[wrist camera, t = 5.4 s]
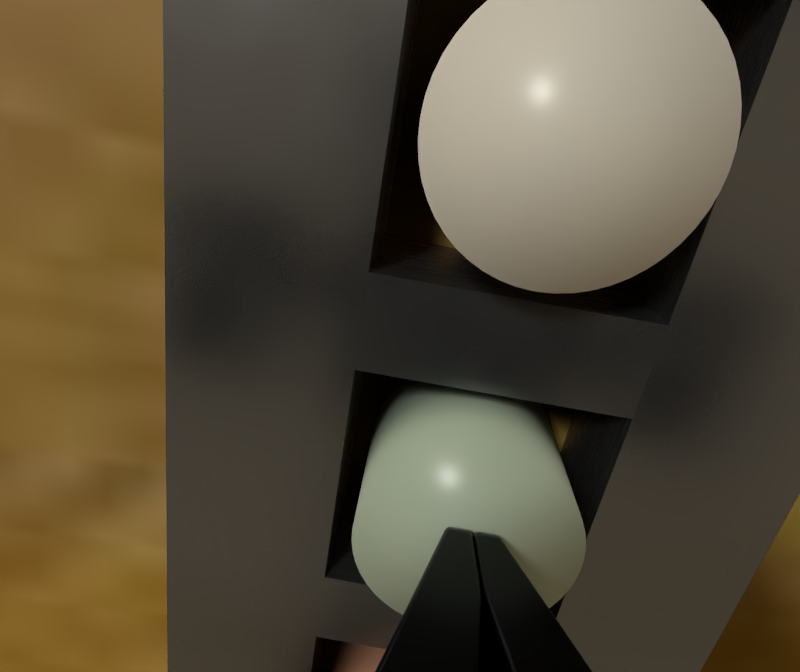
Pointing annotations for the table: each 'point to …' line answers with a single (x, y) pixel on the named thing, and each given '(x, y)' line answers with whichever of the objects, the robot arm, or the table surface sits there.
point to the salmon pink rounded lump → (356, 657)
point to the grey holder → (451, 346)
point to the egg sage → (464, 489)
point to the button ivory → (578, 136)
